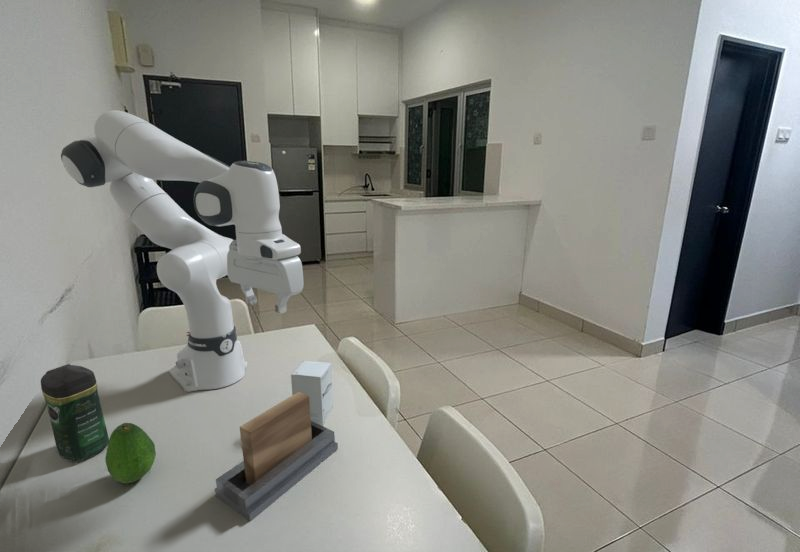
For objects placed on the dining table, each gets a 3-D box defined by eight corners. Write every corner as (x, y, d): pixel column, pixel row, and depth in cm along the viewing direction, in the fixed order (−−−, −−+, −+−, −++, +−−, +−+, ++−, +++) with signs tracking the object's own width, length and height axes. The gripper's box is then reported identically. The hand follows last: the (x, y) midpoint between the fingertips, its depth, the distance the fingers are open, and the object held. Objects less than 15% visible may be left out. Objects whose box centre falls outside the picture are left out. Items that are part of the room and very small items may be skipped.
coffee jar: (117, 445, 89) (100, 367, 84) (74, 468, 82) (53, 385, 77) (93, 431, 94) (76, 357, 89) (52, 452, 87) (30, 372, 82)
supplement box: (323, 426, 95) (320, 377, 92) (293, 422, 97) (289, 374, 94) (334, 408, 102) (332, 362, 99) (306, 405, 104) (303, 359, 100)
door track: (215, 495, 76) (213, 477, 75) (304, 432, 93) (303, 417, 92) (250, 521, 70) (248, 502, 69) (337, 449, 88) (337, 433, 87)
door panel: (246, 482, 77) (239, 426, 74) (302, 441, 88) (298, 391, 85) (256, 489, 75) (250, 432, 72) (312, 446, 86) (309, 396, 83)
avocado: (108, 499, 75) (95, 442, 72) (113, 471, 82) (102, 418, 78) (158, 484, 78) (148, 429, 75) (160, 458, 85) (150, 407, 82)
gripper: (215, 241, 87) (223, 303, 91) (281, 252, 76) (287, 322, 80) (241, 236, 92) (247, 295, 96) (306, 246, 81) (310, 313, 85)
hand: (266, 308), depth 88 cm, fingers open, 8 cm apart
